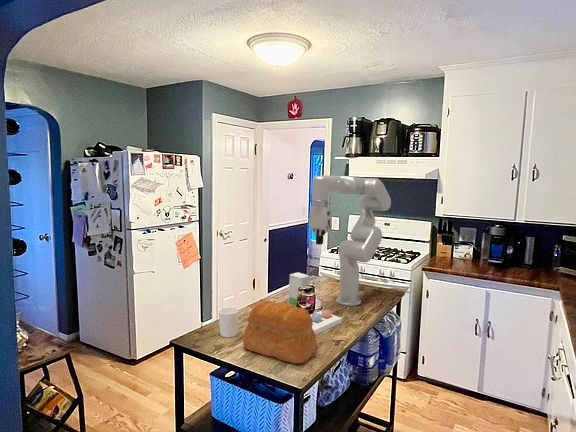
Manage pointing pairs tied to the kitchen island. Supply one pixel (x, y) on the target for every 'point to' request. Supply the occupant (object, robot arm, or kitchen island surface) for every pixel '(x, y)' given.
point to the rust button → (326, 314)
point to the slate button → (316, 318)
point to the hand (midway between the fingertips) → (319, 244)
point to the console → (325, 323)
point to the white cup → (228, 321)
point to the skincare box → (296, 285)
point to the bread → (280, 332)
